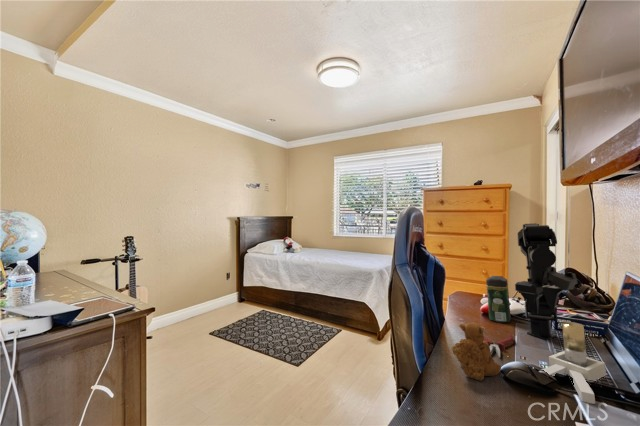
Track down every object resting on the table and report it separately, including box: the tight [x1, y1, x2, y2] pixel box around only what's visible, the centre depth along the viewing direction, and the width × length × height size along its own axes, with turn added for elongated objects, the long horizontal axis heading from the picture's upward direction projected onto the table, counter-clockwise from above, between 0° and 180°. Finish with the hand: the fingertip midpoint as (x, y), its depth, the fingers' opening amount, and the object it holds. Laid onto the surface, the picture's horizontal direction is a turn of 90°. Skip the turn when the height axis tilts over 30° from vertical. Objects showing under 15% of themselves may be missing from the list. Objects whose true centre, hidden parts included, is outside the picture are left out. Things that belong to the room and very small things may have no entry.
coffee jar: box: [485, 275, 512, 323], centre depth 118 cm, size 10×8×19 cm
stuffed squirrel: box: [450, 321, 502, 382], centre depth 76 cm, size 10×14×13 cm
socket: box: [541, 350, 607, 405], centre depth 70 cm, size 20×13×4 cm, turn 113°
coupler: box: [561, 321, 588, 368], centre depth 75 cm, size 4×4×13 cm
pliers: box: [484, 333, 515, 359], centre depth 92 cm, size 12×20×3 cm, turn 148°
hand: (544, 311), depth 88 cm, fingers open, 9 cm apart
